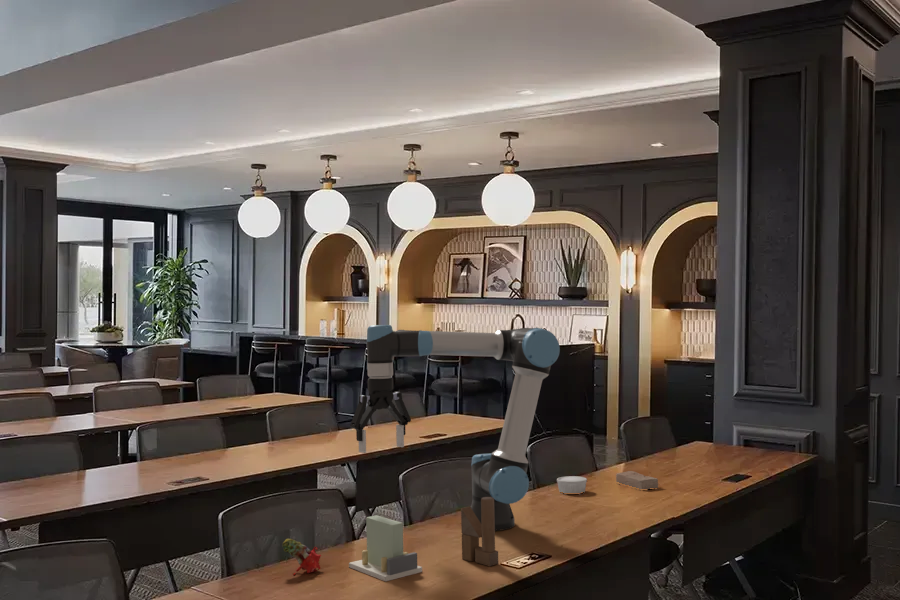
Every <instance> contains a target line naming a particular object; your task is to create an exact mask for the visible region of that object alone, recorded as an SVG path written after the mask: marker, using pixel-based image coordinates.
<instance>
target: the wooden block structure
mask: <svg viewBox="0 0 900 600" xmlns="http://www.w3.org/2000/svg"><path fill="white" fill-rule="evenodd" d="M460 518H461V519H460V520H461V523H460V524H461V527H460V529H461V558H462V560H464V561H469V562H473V561H475V563H476V564H480V565H484V566H487V567H492V566H496V565H498V564H499V551H498V550H496V531H495V518H494V498H492V497H483V498H481V521H482V524H481V523H480V521H479V520H478V518H477V517H476V515H475V513H474V512H473V510H472V509H471V506H465V507H462V508H460ZM480 538H481V546H480Z"/></svg>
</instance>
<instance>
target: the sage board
mask: <svg viewBox="0 0 900 600" xmlns="http://www.w3.org/2000/svg"><path fill="white" fill-rule="evenodd" d="M365 518H366V519H365V521H366V522H365V524H366V550H368V562H370V563H372V564H375V565H378V566H381V558H382V557H387V559H389V558H393V557H397V556H401V555H403V552H404V524H403V522H401V521H398V520H393V519H391V518H387V517H385V516H380V515H376V514H375V515H371V516H367V517H365Z"/></svg>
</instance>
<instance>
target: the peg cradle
mask: <svg viewBox="0 0 900 600" xmlns="http://www.w3.org/2000/svg"><path fill="white" fill-rule="evenodd" d="M348 568H350V569H353V570H355V571H356V572H360V573H363V574H366V575H368V576H371V577H372V578H373V577H374V578H376V579H378V580H380V581H384V582H388V581H392V580H396V579H399V578H403V577H407V576H411V575H416V574H419V573H422V572H423V566H420V565H418V553H417V552H416V551H413V552H410V553H409V552H408V551H403V555H401V556H397V557H393V558H389V559H387V557H382V558H381V566H378V565H375V564H372V563H370V562H368V550H367V549H364V550H361V559H360V560H355V561H351V562H348Z"/></svg>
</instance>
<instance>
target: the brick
mask: <svg viewBox="0 0 900 600" xmlns="http://www.w3.org/2000/svg"><path fill="white" fill-rule="evenodd" d="M615 479H616V480H615V481H616V482H619V483H622V484H625V485H629V486H632V487H636V488H639V489H650V488H658V489H659V482H658V481H659V479H658V478H656V477H653V476H648V475H647V476H646V475H644V474H641V473H639V472H637V471H633V470H628V471H623V472H617V473H616V474H615Z"/></svg>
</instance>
